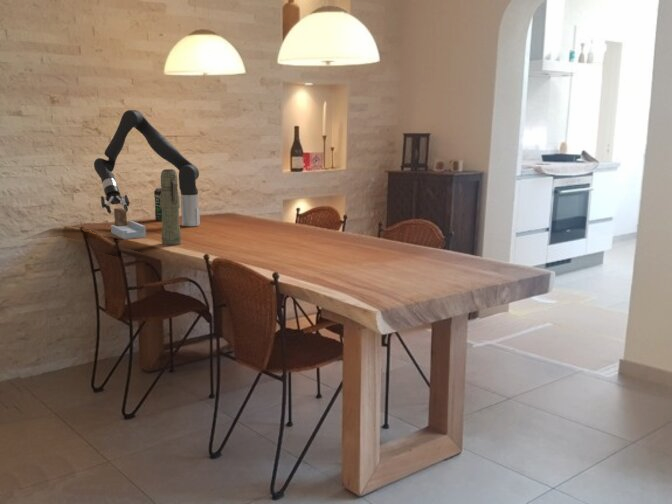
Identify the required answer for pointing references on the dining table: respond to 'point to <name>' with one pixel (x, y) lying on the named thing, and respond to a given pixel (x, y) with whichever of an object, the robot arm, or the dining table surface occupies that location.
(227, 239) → the dining table surface
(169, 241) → the thermos
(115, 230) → the tray
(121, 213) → the brown wooden block
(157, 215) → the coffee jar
